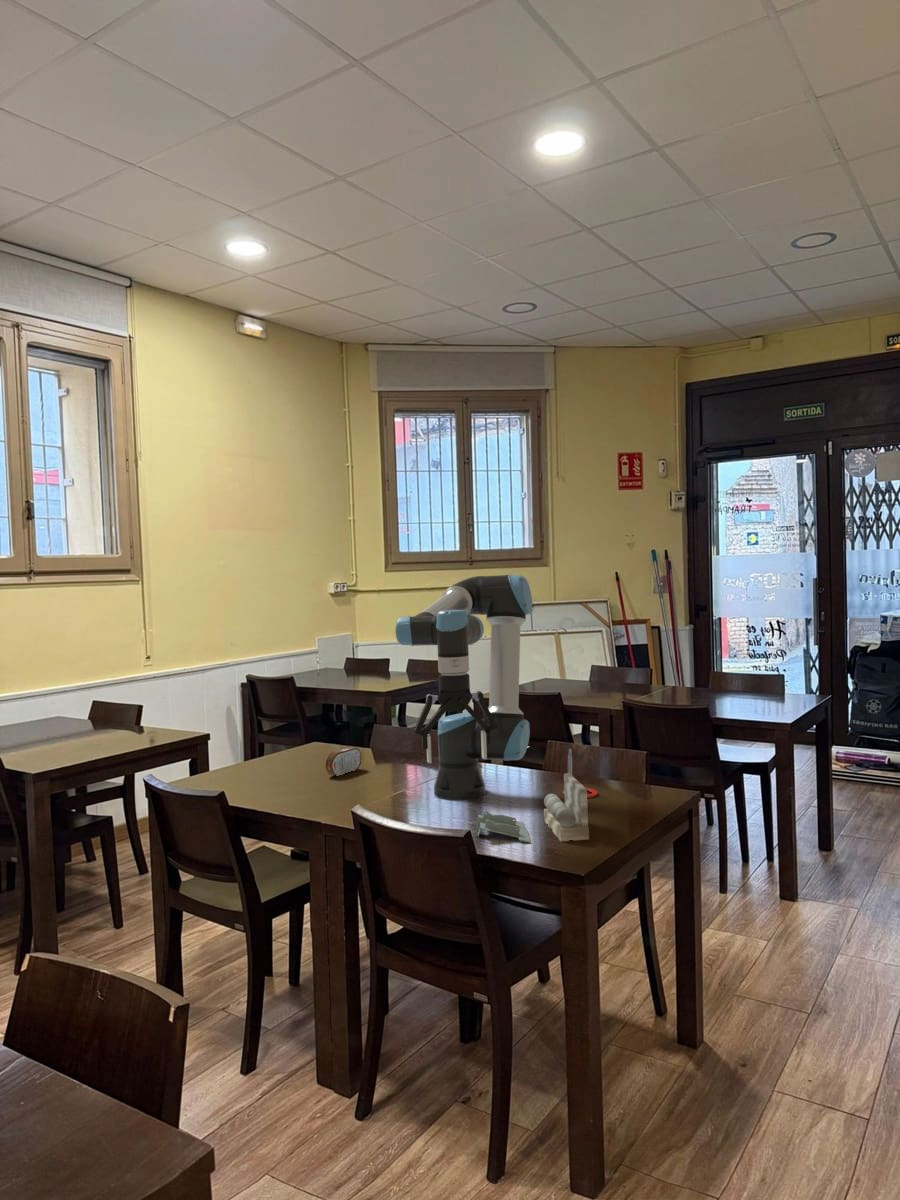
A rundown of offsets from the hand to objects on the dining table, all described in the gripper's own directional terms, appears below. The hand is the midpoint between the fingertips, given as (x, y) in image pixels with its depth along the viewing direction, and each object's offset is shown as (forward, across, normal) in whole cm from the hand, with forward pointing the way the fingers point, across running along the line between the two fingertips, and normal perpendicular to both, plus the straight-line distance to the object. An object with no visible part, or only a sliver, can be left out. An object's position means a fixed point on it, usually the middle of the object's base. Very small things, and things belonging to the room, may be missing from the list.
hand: (457, 760), depth 200 cm
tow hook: (+20, +40, +30) cm, 54 cm away
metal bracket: (+20, +11, +1) cm, 23 cm away
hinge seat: (+19, +27, 0) cm, 33 cm away
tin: (+20, -26, +75) cm, 82 cm away
